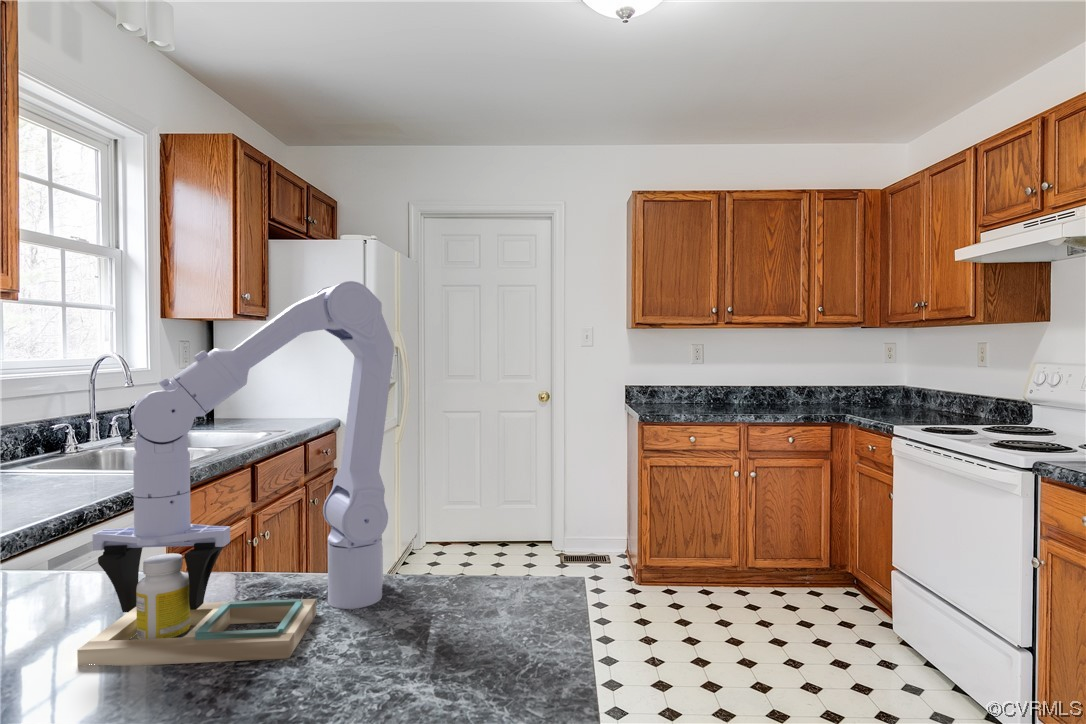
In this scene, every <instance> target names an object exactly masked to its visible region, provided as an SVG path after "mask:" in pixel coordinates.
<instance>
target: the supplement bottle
mask: <svg viewBox="0 0 1086 724" xmlns="http://www.w3.org/2000/svg"><path fill="white" fill-rule="evenodd" d="M183 557H184V556H183V555H182V554H180V553H170V552H169V553H162V554H161V553H160V554H156V555H153V556H150V557H148V558H145V559H144V560H143V562H142V563H143V564H142V565H143V567H142V569H143V570H142V571H143V575H144V577H143V578H141V579H140V580H138V584H137V588H136V601H137V604H136V605H137V634H136V639H158V638H181V637H185V636H186V635H187V634H188V633H189V632H190V631H191V626H190V606H189V576H188V573H186V572H184V571H181V570H182V568H183V566H184V562H183Z"/></svg>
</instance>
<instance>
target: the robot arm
mask: <svg viewBox="0 0 1086 724" xmlns="http://www.w3.org/2000/svg"><path fill="white" fill-rule="evenodd" d="M382 306H383V305H382V301H380V299H379V298H378V297H377V296H376V295H375V294H374V293H373V292H372V291H371V290H370V289H369V288H368V286H366V285H364V284H363V283H360V282H358V281H353V280H349V281H343V282H340V283H339V284H337V285H333V286H326V287H322V288H321V289H319V290H318V291H316V293H315V294H312V295H309V296H307V297H305V298H302V299H300V300H299V301H297V302H295V303H293V304H292V305H290V306H288V307H287V308H285V309H284V310H283V311H282V312H280V313H279V314H277V315H276V316H275V317H273V318H272V319H270V321H268V322H266V324H264V325H263V326H261V327H260V328H258V329H257V330H256V331H255V332H253V333H252V334H251V335H249V336H247V338H245V340H242V342H240V343H239V344H238V345H236V346H235V347H234V348H232V349H224V348H218V347H217V348H213V349H211V350H209V352H206V350H201V351H199V352H198V353H197V354H195V355H194V359H195V360H196V361H194V362H192V363H191V364H190V365H188V366H187V367H186V368H184V369H183V370H181V371H180V372H178V373H176V374H175V375H174V376H173V377H171V378H170V379H168V378H167V377H163V379H162V378H161V380H160V381H159V382H158V385H159V386H160V387H161V388H162V389H163V390H153V391H151V392H148V393H146V394H144V395H142V396H141V397H140V398H139V399H138V400H137V401H136V403H135V404H134V407H133V410H132V413H131V414H130V420H131V424H132V425H133V427H134V429H135V430H136V431H137V432H138V433H136V434H135V439H134V441H133V442H134V444H133V447H134V451H135V453H134V455H133V462H132V463H133V467H132V468H133V524H134V525H133V527H132V526H131V527H124V528H123V527H122V528H110V529H107V528H106V529H101V530H99V531H96V532H94V533H93V534H92V551H96V552H97V551H103V552H102V554H101V555H99V556H98V557H97V565H99V567H101V569H102V570H103V571H104V572H105V574H106V576H108V579H109V580H110V581H111V583H112V585H113V588H114V590H115V593H116V595H117V599H118V602H119V605H120V608H121V612H122V613H128V612H129V611H131V610H132V609H133V608H135V607H136V606H137V605H136V604H137V601H136V588H137V584H138V583H139V572H140V565H141V558H142V557H141V556H142V551H143V548H166V547H168V548H170V547H173V548H174V547H193V548H191V549H190V550H188V551H187V552H186V553H184V556H183V557H184V560H185V564H186V568H187V569H186V570H187V575H188V577H189V606H190V610H196V609H198V608H199V607H200V606H201V605H202V604H203V603H205V601H204V600H205V595H206V591H207V588H208V584H209V581H210V577H211V574H212V571H213V569H214V566H215V565H216V562H217V560H218V558H219V556H220V554H221V552H222V550H223V548H224V547H225V546H226V545H228V544H230V542H231V526H230V525H229V526H228V525H227V526H226V525H207V524H195V523H192V519H191V516H192V515H191V452H190V451H189V442H188V441H189V438H188V437H189V436H188V435H189V434H188V433H189V432H190V431H191V429H192V427H193V426H194V422H195V418H197V417H198V418H199V417H200V418H201V417H205V415H207V414H208V413H209V412H211V411H212V410H214V409H215V408H216V407H217V406H219V405H221V404H222V403H223V402H224V401H226V400H227V399H228V398H230V397H231V396H233V395H234V394H235V393H237V392H238V391H239V390H241V389H242V388H244V387H245V386H246V385H247V382H248V375H249V371H250V369H252V368H253V367H254V366H256V365H258V364H259V363H261V362H262V361H264V360H265V359H266V358H269V356H271V355H272V354H274V353H275V352H277V351H278V350H280V349H282V348H283V347H284V346H286V345H287V344H288V343H290V342H291V341H293V340H295V339H296V338H297V337H299V336H300V335H302V334H306V333H310V332H311V333H312V332H317V331H323V330H324V331H326V332H327V333H329V334H331V335H332V336H334V337H336V338H338V339H339V340H340V342H341V343H342V344H343V345H344V346H345V347H346V348H347V349H348V350H349V352H351V354H352V355H353V357H354V358H353V364H352V365H353V366H352V375H351V382H350V389H349V391H350V392H349V399H348V406H347V413H346V422H345V429H344V437H343V446H342V454H341V460H340V461H341V462H340V467H339V469H338V470H337V472H336V474H335V475H334V476H333V481H332V488H331V490H330V493H329V494H328V495H327V497H326V499H325V500H324V504H323V507H322V514H323V517H324V520H325V522H326V523H327V524H328V525H329V527H330V528H331V529H330V532H329V534H328V536H327V603H328V605H329V606H331V607H333V608H335V609H343V610H344V609H345V610H352V609H361V608H365V607H369V606H371V605H375V604H376V603H379V602H380V601H381V599H382V598H383V585H384V555H383V554H384V549H383V548H384V547H383V534H384V531H386V528H387V526H388V523H389V522H388V521H389V512H388V509H387V506H386V503H385V492H386V491H385V490H386V489H385V485H384V482H383V479H382V476H381V472H380V465H381V459H382V458H381V457H382V449H383V444H384V443H383V442H384V441H383V440H384V433H385V427H386V426H385V425H386V417H387V408H388V400H389V392H390V384H391V377H392V369H393V362H394V361H393V360H394V352H395V345H394V341H393V338H392V336H391V332H390V331H389V328H388V325H387V323H386V320H385V317H384V315H383V309H382Z"/></svg>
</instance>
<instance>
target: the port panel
mask: <svg viewBox="0 0 1086 724" xmlns="http://www.w3.org/2000/svg"><path fill="white" fill-rule="evenodd" d="M317 610H318V609H317V598H306V599H304V598H303V599H302V598H297V599H296V598H294V599H293V598H292V599H291V598H290V599H270V600H269V599H267V600H243V601H241V600H239V601H224V602H220V601H219V602H203V604H202V605H201V606H200V607H199V608H198V609H196V610H190V627H191V626H193V628H192V629H190V632H189V633H188V634H187V635H186V636H185V637H181V638H158V639H137V638H136V639H132V638H134V637H135V636H136V635H137V634H136V633H137V606H136V607H135V608H133V609H132V610H131V611H129V612H126V613H125V614H124V615H122V616H121V617H120V618H118V619H117V620H116V621H115V622H113V623H112V624H111V625H109V626H108V627H106V628H105V629H103V630H102V631H101V632H99V633H98V634H97V635H95V636H94V637H93V638H91V639H90V640H89V641H88V642H86V643H85V644H83V645H82V646H81V647H79V648H78V649H77V650H76V651H77V654H76V655H77V666H78V667H81V665H89V664H90V665H91V664H92V665H94V664H95V665H109V666H110V665H112V666H113V665H114V666H155V665H157V666H158V665H171V664H172V665H173V664H175V665H178V664H196V663H197V664H198V663H200V664H201V663H218V662H238V661H242V662H243V661H259V660H282V659H285V660H286V659H290V658H291V656H292V655H293V653H294V651H295V650H296V649H297V646H298V645H299V644H300V642H301V640H302V638H303V636H304V635H305V633H306V632H307V631H308V629H309V627H310V625H311V624H312V622H313V621H314V619H315V617H316V615H317ZM261 623H279V624H278V625H277V627H276V628H271V629H270V628H269V629H267V628H266V629H248V630H247V629H246V630H245V629H244V630H226V629H227V628H228V627H229V626H230V625H235V624H237V625H238V624H239V625H241V624H261ZM135 634H136V635H135ZM134 635H135V636H134ZM133 636H134V637H133ZM131 637H132V638H131ZM130 638H131V639H130ZM129 639H130V640H129ZM79 665H80V666H79ZM112 666H111V667H112ZM114 666H113V667H114Z"/></svg>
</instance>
